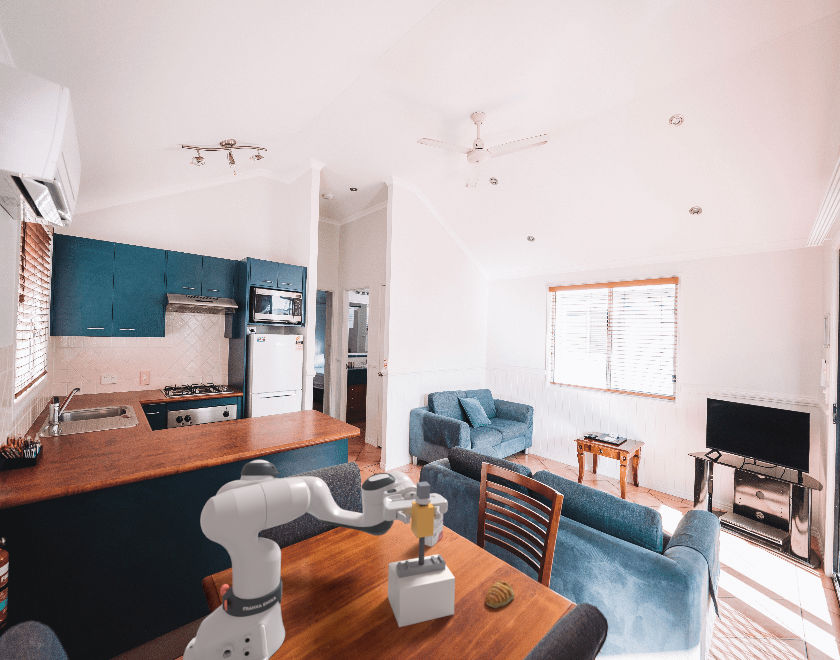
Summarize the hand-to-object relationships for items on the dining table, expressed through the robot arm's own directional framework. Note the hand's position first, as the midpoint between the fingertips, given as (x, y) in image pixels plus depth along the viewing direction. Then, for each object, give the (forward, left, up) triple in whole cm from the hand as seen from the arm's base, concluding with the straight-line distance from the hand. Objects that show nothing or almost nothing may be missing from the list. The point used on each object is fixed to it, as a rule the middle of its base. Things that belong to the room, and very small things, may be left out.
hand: (423, 518), depth 108 cm
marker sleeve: (0, 0, -4) cm, 4 cm away
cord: (0, 0, -15) cm, 15 cm away
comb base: (0, 0, -25) cm, 25 cm away
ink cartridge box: (+21, +28, -25) cm, 43 cm away
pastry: (+23, -8, -25) cm, 35 cm away
